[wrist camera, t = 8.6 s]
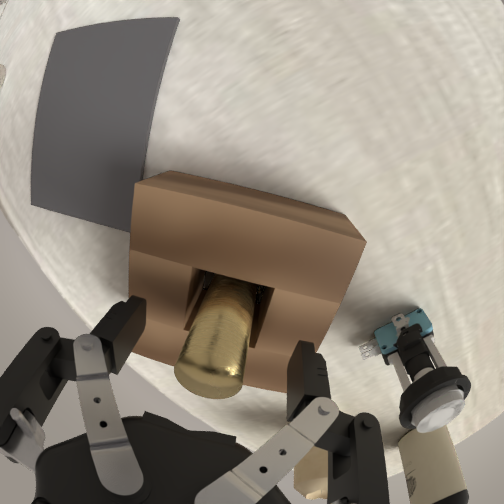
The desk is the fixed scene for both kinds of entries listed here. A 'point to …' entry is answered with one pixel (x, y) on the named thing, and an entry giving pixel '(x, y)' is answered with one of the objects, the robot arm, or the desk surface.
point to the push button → (420, 372)
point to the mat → (98, 118)
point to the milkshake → (2, 74)
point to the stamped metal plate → (0, 1)
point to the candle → (312, 474)
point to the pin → (218, 340)
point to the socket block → (237, 266)
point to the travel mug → (432, 468)
